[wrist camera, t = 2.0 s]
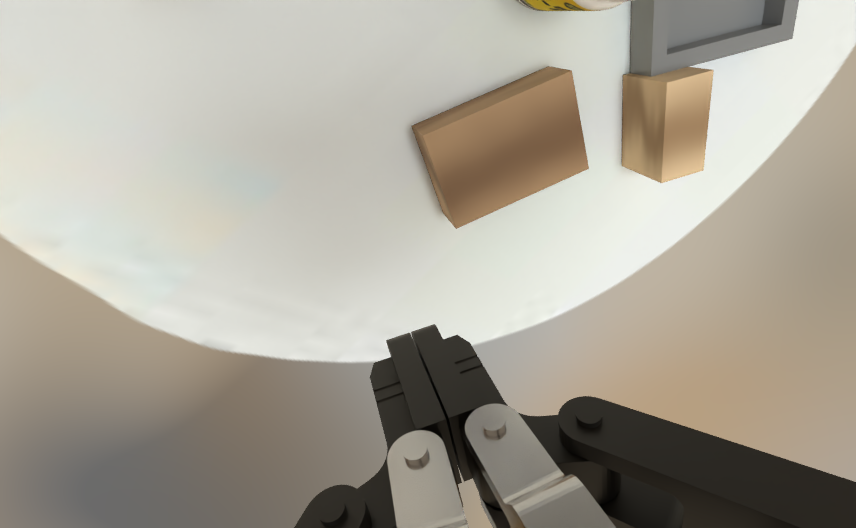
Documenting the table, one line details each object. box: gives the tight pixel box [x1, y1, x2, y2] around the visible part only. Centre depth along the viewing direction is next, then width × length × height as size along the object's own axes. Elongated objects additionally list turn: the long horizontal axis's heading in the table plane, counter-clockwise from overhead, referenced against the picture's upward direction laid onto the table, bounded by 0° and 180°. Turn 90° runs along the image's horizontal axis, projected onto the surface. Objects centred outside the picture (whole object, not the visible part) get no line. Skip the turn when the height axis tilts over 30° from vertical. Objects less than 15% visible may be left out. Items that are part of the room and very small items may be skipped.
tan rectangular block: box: [622, 67, 713, 183], centre depth 30 cm, size 6×3×4 cm, turn 11°
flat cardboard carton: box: [412, 66, 589, 229], centre depth 29 cm, size 6×9×3 cm, turn 110°
